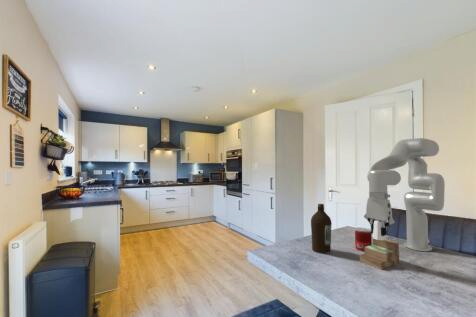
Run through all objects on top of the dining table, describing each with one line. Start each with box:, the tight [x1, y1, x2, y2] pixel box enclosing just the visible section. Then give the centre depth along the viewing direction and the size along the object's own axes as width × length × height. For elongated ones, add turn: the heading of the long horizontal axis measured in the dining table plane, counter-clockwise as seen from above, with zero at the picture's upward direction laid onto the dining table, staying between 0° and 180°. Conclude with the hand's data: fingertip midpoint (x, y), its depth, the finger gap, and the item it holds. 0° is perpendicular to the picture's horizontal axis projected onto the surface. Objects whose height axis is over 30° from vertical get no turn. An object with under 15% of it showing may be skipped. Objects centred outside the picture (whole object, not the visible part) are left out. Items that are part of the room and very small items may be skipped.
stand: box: [359, 238, 400, 271], centre depth 108 cm, size 15×11×10 cm
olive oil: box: [310, 203, 333, 254], centre depth 124 cm, size 11×11×25 cm
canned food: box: [354, 227, 373, 253], centre depth 125 cm, size 8×8×11 cm
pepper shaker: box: [372, 219, 386, 240], centre depth 109 cm, size 5×5×11 cm
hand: (378, 233), depth 109 cm, fingers closed on pepper shaker, 3 cm apart
